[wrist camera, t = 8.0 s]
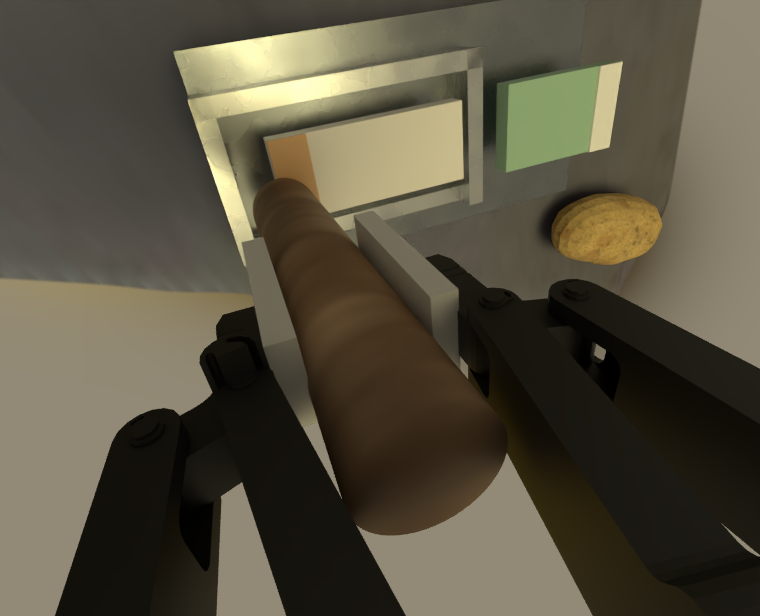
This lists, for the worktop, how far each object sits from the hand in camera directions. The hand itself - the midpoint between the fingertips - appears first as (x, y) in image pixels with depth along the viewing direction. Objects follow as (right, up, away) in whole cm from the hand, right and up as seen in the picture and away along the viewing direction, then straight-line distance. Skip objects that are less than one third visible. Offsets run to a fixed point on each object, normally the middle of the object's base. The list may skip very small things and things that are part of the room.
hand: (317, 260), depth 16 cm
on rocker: (+13, +10, +11) cm, 20 cm away
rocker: (+2, +7, +8) cm, 11 cm away
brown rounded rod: (-3, +3, +7) cm, 8 cm away
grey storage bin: (+3, +12, +17) cm, 21 cm away
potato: (+23, +7, +28) cm, 37 cm away
